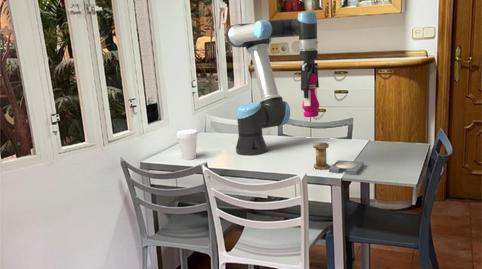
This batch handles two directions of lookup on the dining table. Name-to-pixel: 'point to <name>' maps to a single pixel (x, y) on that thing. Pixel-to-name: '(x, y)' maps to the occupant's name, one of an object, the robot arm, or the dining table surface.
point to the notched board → (346, 167)
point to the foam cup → (187, 143)
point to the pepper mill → (312, 99)
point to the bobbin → (321, 156)
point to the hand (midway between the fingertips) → (310, 104)
